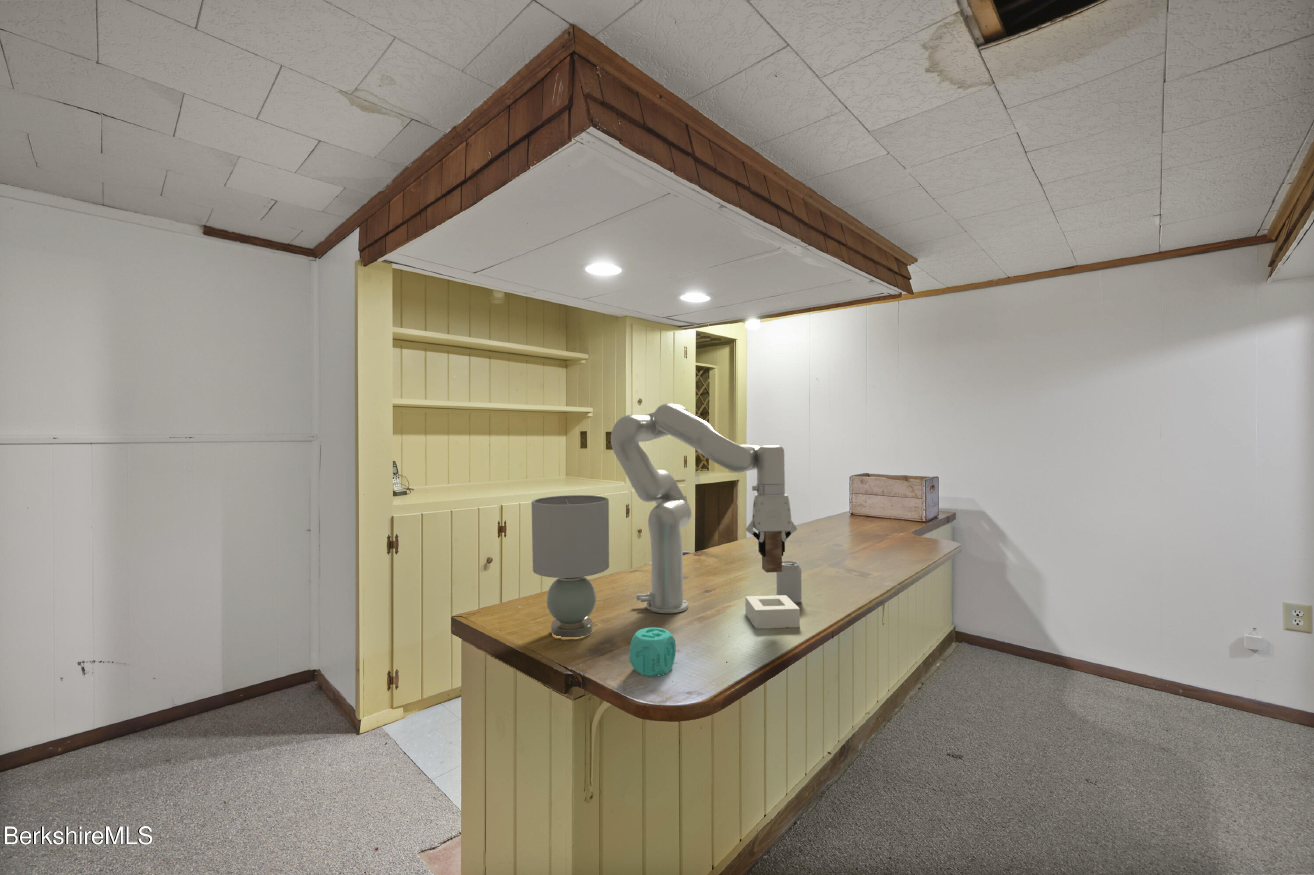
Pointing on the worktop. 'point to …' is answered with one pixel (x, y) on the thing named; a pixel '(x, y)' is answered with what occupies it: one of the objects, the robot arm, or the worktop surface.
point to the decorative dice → (652, 651)
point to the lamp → (570, 556)
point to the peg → (772, 552)
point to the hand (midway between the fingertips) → (771, 554)
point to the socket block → (772, 611)
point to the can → (790, 581)
